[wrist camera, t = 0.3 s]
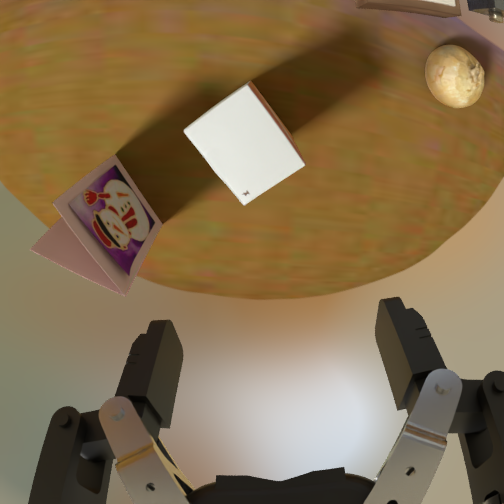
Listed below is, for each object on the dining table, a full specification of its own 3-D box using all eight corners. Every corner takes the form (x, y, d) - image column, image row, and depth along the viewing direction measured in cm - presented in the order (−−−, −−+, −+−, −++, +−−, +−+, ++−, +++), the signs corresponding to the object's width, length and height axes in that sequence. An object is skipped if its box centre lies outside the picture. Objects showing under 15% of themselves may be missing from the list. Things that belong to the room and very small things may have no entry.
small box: (292, 134, 36) (308, 166, 25) (247, 163, 38) (243, 208, 27) (251, 78, 32) (247, 82, 21) (205, 110, 34) (180, 132, 23)
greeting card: (167, 221, 42) (132, 293, 29) (127, 244, 44) (85, 315, 31) (120, 150, 37) (57, 197, 24) (81, 179, 39) (18, 234, 26)
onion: (463, 109, 32) (495, 121, 26) (413, 98, 32) (442, 106, 26) (468, 53, 28) (500, 56, 22) (417, 37, 28) (447, 35, 22)
